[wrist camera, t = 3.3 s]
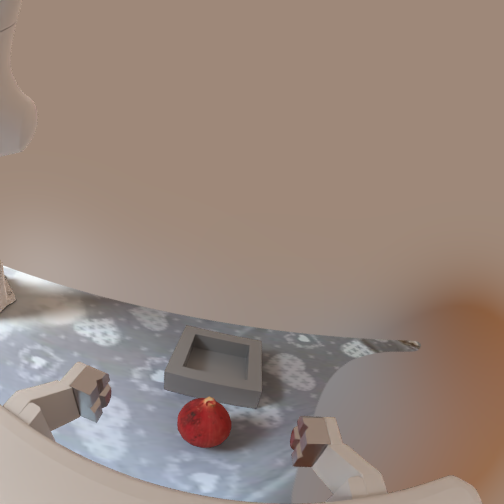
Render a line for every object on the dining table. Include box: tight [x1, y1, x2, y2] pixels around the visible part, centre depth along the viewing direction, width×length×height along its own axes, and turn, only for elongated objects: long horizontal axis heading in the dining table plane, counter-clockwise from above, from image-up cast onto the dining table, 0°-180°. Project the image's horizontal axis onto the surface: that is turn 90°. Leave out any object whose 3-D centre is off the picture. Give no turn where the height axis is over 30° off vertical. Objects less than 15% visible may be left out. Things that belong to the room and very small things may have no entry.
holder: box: [164, 325, 262, 409], centre depth 39 cm, size 13×13×4 cm
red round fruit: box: [177, 397, 231, 448], centre depth 25 cm, size 6×6×8 cm
